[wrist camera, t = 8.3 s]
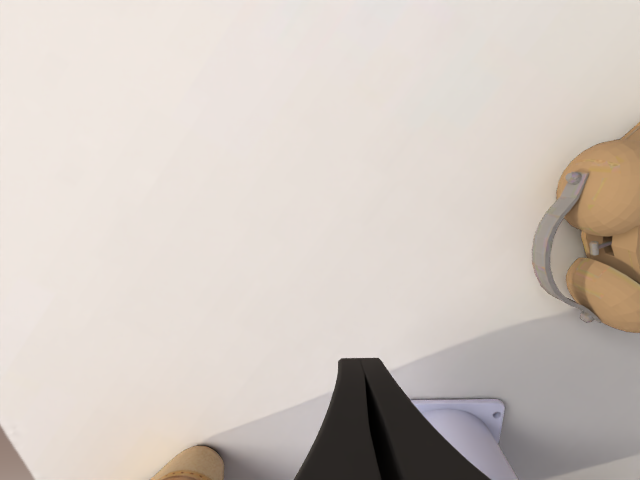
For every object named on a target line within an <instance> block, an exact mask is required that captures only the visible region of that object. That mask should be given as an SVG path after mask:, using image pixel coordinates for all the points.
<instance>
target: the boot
mask: <svg viewBox="0 0 640 480" xmlns="http://www.w3.org/2000/svg"><path fill="white" fill-rule="evenodd" d="M223 478H224V463H223V460H222V459H221V457H220V456H219V454H218V453H217V452H215V451H214V450H213V449H211V448H209V447H206V446H193V447H191V448H188V449H186V450H184V451H183V452H181V453H180V454H178V455H177V456H176V457H174V458H173V459H172V460H171V461H170V462H169V463H168V464H167V465H166V466H164V467H163V468H162V469H161V470H160V471H159V472H158V473H157V474H156V475H155V476H154V477H153V478H151V479H150V480H223Z"/></svg>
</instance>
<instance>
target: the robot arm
mask: <svg viewBox="0 0 640 480" xmlns="http://www.w3.org/2000/svg"><path fill="white" fill-rule="evenodd" d="M495 412H497V413H495ZM504 412H505V406H504V404H503V403H502V401H501V400H499V399H463V400H410V399H409V398H408V397H407V395H406V394H405V393H404V392H403V390H402V389H401V388H400V387H399V385H398V384H397V383H396V381H395V380H394V378H393V377H392V376H391V374H390V373H389V371H388V370H387V369H386V367H385V366H384V364H383V363H382V361H381V360H380V359H379V358H342V359H340V360H339V361H338V375H337V380H336V385H335V389H334V392H333V395H332V399H331V402H330V405H329V408H328V410H327V413H326V416H325V418H324V421H323V423H322V426H321V428H320V430H319V433H318V435H317V437H316V439H315V441H314V443H313V445H312V447H311V449H310V451H309V453H308V455H307V457H306V459H305V461H304V463H303V464H302V466H301V468H300V470H299V472H298V473H297V475H296V477H295V478H294V480H519V479H518V478H517V476H516V474H515V473H514V471H513V469H512V467H511V466H510V464H509V462H508V461H507V459H506V457H505V456H504V454H503V452H502V451H501V449H500V447H499V440H500V435H501V429H502V423H503V417H504ZM494 413H495V414H494Z"/></svg>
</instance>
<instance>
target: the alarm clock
mask: <svg viewBox="0 0 640 480" xmlns="http://www.w3.org/2000/svg"><path fill="white" fill-rule="evenodd" d="M556 194H557V201H556V202H555V203H554V204H553V205H552V206H551V207H550V209H549V210H548V211H547V212H546V213H545V215H544V217H543V218H542V220H541V221H540V223H539V225H538V228H537V230H536V233H535V235H534V241H533V247H532V264H533V268H534V271H535V275H536V277H537V279H538V281H539V283H540V285H541V286H542V287H543V288H544V289H545V290H546V291H547V292H548V293H549V294H550V295H552V296H554V297H556V298H557V299H559V300H561V301H563V302H565V303H567V304H568V305H570V306H573V307H576V308H579V309H580V310H581V311H582V313H581V316H580V318H581V319H582V320H583V321H584V322H586V323H587V322H592V321H593V320H596V321H597V322H599V323H601V322H602V323H604V324H606V325H609V326H611V327H613V328H616V329H619V330H623V331H626V332H633V333H640V122H639V123H638V124H637V125H636V126H635V127H634V128H633V129H631V130H630V131H629V132H628V133H627V134H626V135H625V136H624V137H622V138H621V139H619V140H613V141H608V142H603V143H599V144H596V145H595V146H593V147H591V148H589V149H587V150H585V151H583V152H582V153H581V154H579V155H578V156H577V157H576V158H575V159H574V160H572V161H571V163H570V164H569V165H568V166H567V168H566V169H565V170H564V172H563V174H562V176H561V178H560V180H559V183H558V188H557V193H556ZM563 218H565V219H566V221H567V222H568V223H569V224H570V225H571V226H573V227H575V228H577V229H579V230H581V231H582V234H581V238H582V242H583V245H584V249H585V252H586V256H587V258H578V259H577V260H576V261H575V262H574V263H573V264H572V265H571V267H570V268H569V270H568V272H567V275H566V282H567V287H568V290H569V292H570V294H571V295H572V297H573V298H574V300H575V301H576V302H575V301H573V300H571V299H569V298H566V297H565V296H564V295H563V294H562V293H561V292H560V291H559V290H558V288H557V286H556V284H555V282H554V280H553V276H552V272H551V268H550V252H551V247H552V241H553V238H554V235H555V233H556V230H557V228H558V226H559V224H560V223H561V221H562V220H563Z"/></svg>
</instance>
